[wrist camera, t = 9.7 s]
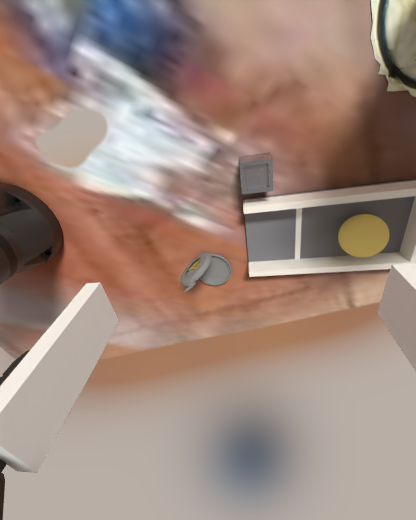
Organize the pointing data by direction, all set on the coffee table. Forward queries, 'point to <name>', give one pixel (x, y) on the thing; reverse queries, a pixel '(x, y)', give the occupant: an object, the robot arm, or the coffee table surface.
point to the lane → (328, 229)
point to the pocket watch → (207, 270)
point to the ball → (363, 235)
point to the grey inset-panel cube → (256, 173)
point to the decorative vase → (395, 42)
